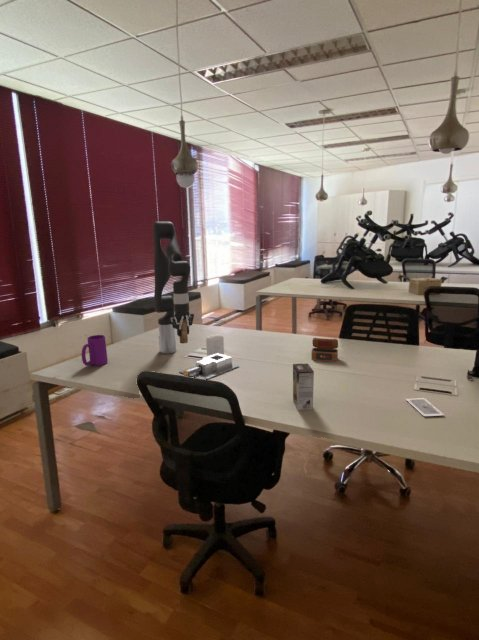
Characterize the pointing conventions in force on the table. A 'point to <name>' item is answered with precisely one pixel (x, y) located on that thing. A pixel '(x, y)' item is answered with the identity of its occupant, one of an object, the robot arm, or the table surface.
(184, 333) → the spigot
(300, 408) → the coffee box
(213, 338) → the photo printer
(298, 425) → the table surface
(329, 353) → the box
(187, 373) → the lock pin
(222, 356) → the dock
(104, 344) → the mug
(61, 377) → the table surface
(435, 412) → the touchpad
